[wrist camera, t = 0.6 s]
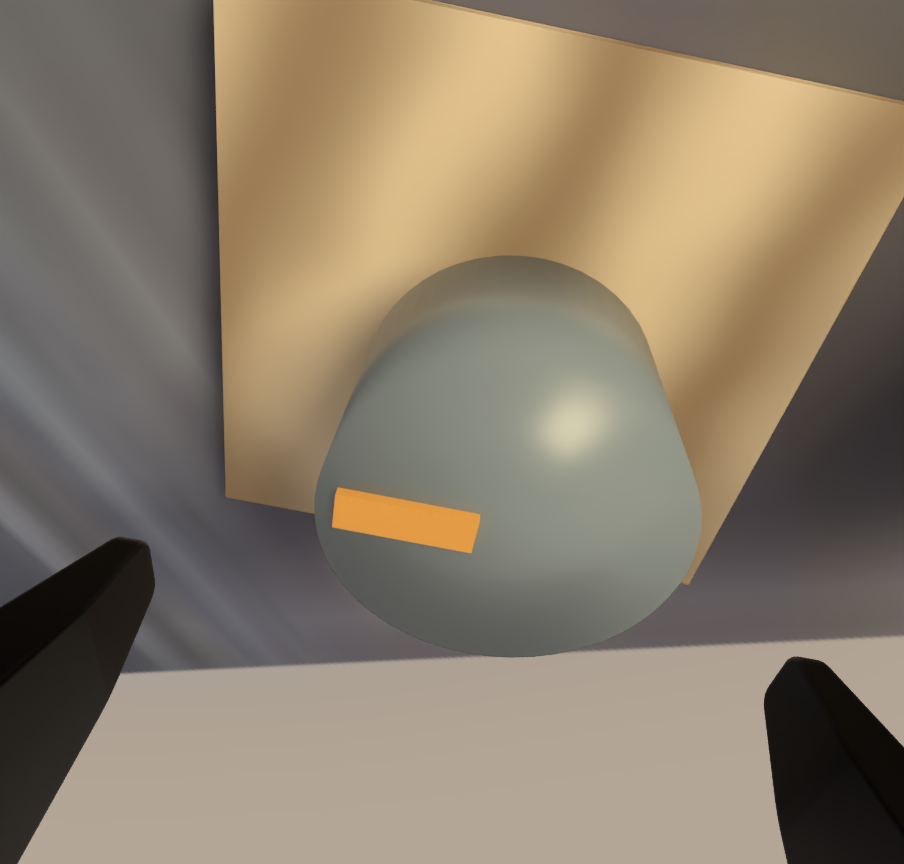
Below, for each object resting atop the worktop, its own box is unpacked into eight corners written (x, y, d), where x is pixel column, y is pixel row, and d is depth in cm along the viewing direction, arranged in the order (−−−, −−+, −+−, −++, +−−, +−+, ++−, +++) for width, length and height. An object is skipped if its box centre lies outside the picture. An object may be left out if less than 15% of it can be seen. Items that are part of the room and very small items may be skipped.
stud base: (915, 103, 16) (1014, 135, 13) (680, 553, 24) (703, 639, 21) (237, -42, 15) (164, -46, 12) (241, 469, 24) (198, 545, 21)
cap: (700, 290, 15) (775, 422, 10) (603, 525, 18) (628, 690, 14) (382, 225, 14) (324, 333, 10) (353, 477, 18) (302, 631, 14)
